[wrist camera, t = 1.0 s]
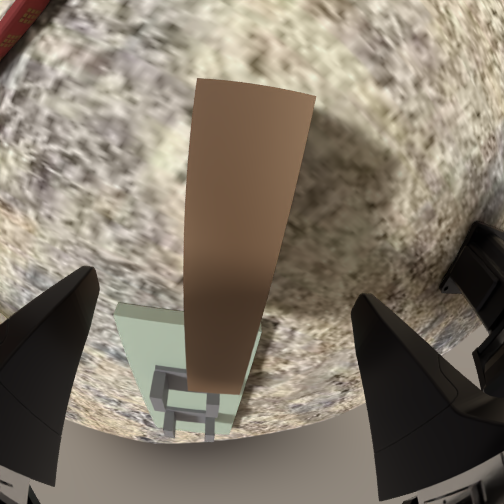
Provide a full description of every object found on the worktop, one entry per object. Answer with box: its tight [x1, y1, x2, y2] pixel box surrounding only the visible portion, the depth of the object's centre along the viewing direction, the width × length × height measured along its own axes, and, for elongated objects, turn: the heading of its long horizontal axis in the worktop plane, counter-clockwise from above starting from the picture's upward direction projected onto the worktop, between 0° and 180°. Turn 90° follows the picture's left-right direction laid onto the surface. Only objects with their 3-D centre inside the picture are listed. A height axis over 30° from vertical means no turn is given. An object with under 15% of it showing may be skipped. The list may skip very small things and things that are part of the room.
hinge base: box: [114, 302, 262, 442], centre depth 23 cm, size 10×24×4 cm, turn 171°
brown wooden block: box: [183, 78, 316, 395], centre depth 11 cm, size 2×12×7 cm, turn 171°
